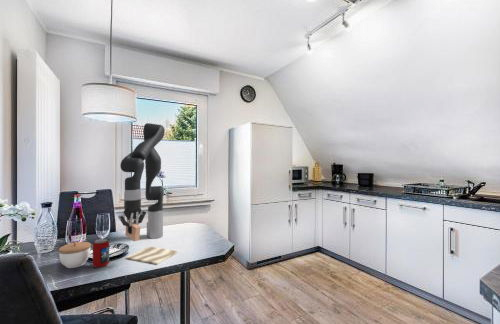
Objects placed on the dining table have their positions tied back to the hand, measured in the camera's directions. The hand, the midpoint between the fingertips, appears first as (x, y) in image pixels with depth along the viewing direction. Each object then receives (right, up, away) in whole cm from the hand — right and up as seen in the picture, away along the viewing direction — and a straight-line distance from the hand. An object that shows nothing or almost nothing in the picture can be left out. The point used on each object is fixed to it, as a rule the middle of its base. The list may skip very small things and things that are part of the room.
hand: (132, 232), depth 120 cm
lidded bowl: (-26, -15, -3) cm, 30 cm away
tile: (-1, -2, 0) cm, 3 cm away
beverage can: (-13, -15, -4) cm, 20 cm away
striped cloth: (+7, -14, +8) cm, 18 cm away
